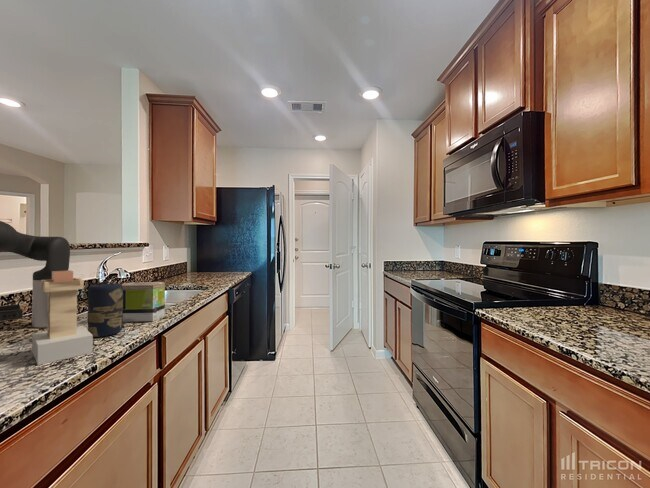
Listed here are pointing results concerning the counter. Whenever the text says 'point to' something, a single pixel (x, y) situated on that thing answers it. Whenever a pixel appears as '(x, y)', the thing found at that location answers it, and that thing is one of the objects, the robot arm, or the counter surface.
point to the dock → (61, 346)
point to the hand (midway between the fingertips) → (21, 310)
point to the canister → (105, 309)
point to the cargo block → (62, 276)
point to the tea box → (143, 301)
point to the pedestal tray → (62, 306)
